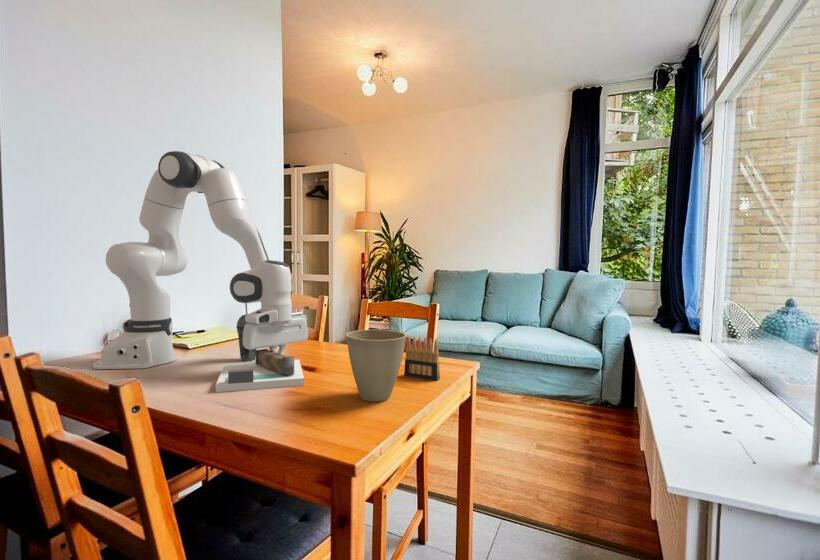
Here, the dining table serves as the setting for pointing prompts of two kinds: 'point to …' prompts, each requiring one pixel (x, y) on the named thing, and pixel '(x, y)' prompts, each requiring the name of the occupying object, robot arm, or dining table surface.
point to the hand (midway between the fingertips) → (277, 359)
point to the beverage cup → (244, 353)
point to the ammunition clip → (422, 360)
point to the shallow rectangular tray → (256, 377)
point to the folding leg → (275, 361)
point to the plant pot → (375, 361)
